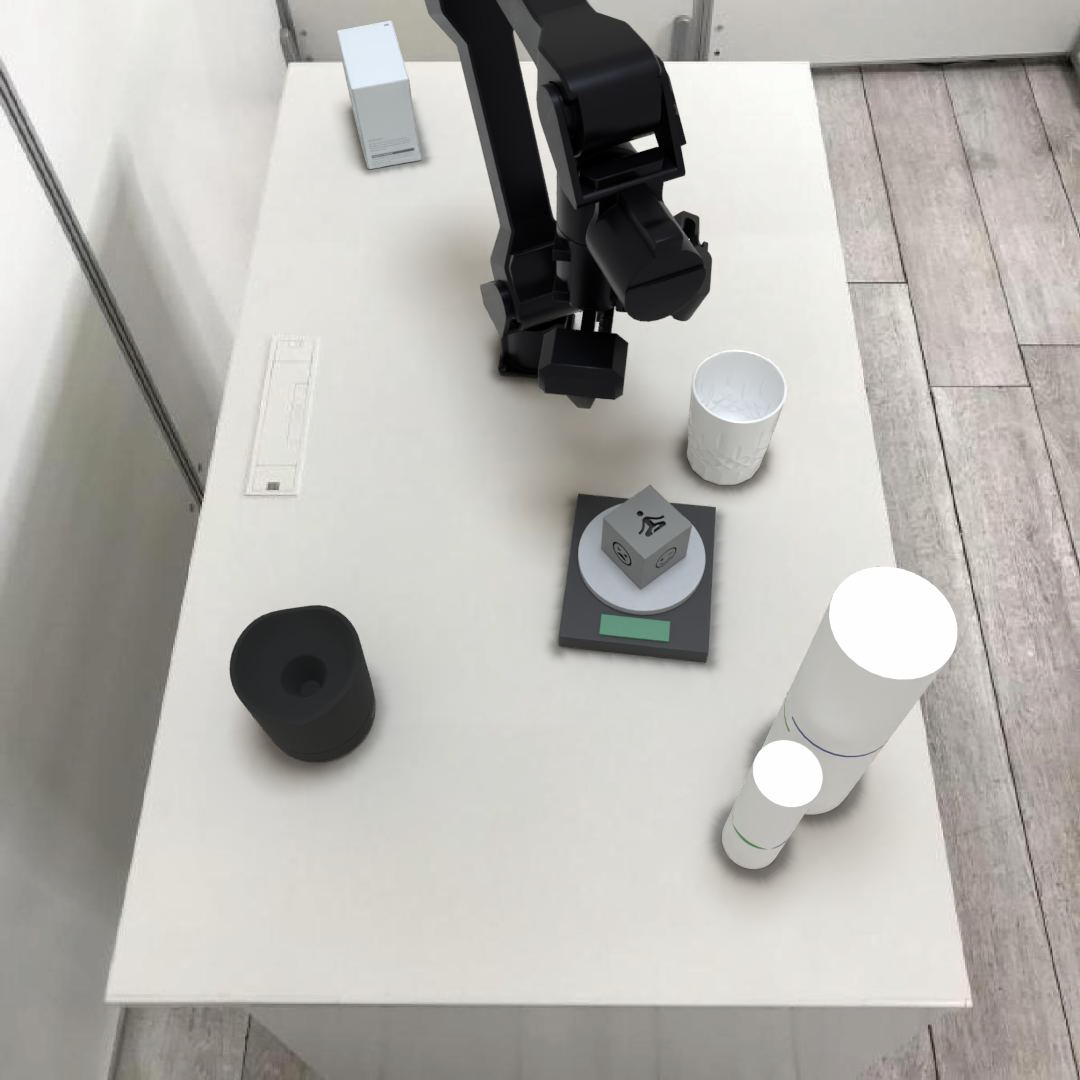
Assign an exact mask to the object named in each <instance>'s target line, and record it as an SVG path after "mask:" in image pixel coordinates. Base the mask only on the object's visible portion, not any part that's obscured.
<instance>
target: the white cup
mask: <svg viewBox="0 0 1080 1080" xmlns="http://www.w3.org/2000/svg"><path fill="white" fill-rule="evenodd" d="M691 379H692V380H691V387H690V388H691V389H690V398H689V406H688V407H689V410H688V418H687V421H688V422H687V449H686V458H687V459H688V463H689V465H690V467H691V469H692V470H693V471H694V472H695V473H696V474H697V475H698V476H699V477H700V478H702V480H704V481H707V482H710V483H713V484H716V485H718V486H734V485H735V486H737V485H738V484H741V483H743V482H746V481H747V480H749V479H751V478H752V477H753V476H754V475H755V473H756V472H757V471H758V470H759V468H760V467H761V464H762V461H763V459H764V456H765V454H766V453H767V450H768V448H769V446H770V442H771V440H772V438H773V436H774V432H775V431H776V427H777V425H778V422H779V419H780V417H781V413H782V411H783V408H784V405H785V403H786V400H787V396H788V383H787V380H786V377H785V375H784V374H783V372H782V370H781V369H780V368H779V367H778V366H777V364H775V363H774V362H773V361H772V360H771V359H769V358H768V357H766V356H764V355H762V354H760V353H757V352H754V351H750V350H746V349H726V350H721V351H718V352H715V353H713V354H710V355H709V356H707V357H706V358H704V359H703V360H702V361H701V362H700V363H699V364H697V366H696V368H695V369H694V372H693V375H692V378H691Z"/></svg>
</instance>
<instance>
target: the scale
mask: <svg viewBox="0 0 1080 1080" xmlns="http://www.w3.org/2000/svg"><path fill="white" fill-rule="evenodd" d="M576 497H577V498H576V504H575V512H574V513H575V514H574V521H573V528H572V536H571V542H570V543H571V544H570V551H569V559H568V565H567V574H566V580H565V587H564V594H563V595H564V596H563V603H562V611H561V619H560V626H559V633H558V646H559V647H565V648H574V649H582V650H592V651H600V652H601V651H602V652H609V653H620V654H628V655H636V656H646V657H654V658H664V659H673V660H682V661H683V660H684V661H691V662H701V663H706V662H707V659H708V655H709V650H710V649H709V648H710V647H709V646H710V629H711V627H710V625H711V610H712V609H711V606H712V589H713V570H714V569H713V568H714V550H715V549H714V547H715V546H714V545H715V529H716V512H717V511H716V510H717V507H716V506H711V505H698V504H689V503H678V502H671V501H670V502H669V501H668V502H669V503H670V504H671V505H672V506H673V507H674V508H675V509H676V510H677V511H678V512H679V513H680V514H681V515H683V516H684V517H685V518H686V519H687V520H688V521H689V522H690V523H691V524H692V529H691V534H690V539H689V544H688V549H687V553H686V557H685V558H683V559H682V560H681V561H679V562H678V563H677V564H675V565H674V566H673V567H671V568H670V569H669V570H667V571H666V572H664V573H663V574H662V575H660V576H659V577H658V578H656V579H655V580H654V581H652V582H651V583H650V584H648V585H647V586H646V587H644V588H643V589H642V590H640V589H639V588H638V587H637V586H636V585H635V584H634V583H633V582H632V581H631V580H630V579H629V578H628V576H627V575H626V574H625V573H624V572H623V571H622V570H621V569H620V568H619V567H618V566H617V565H616V564H615V563H614V562H613V561H612V560H611V559H610V558H609V557H608V556H607V555H606V554H605V553H604V552H603V551H602V550H601V543H602V527H603V517H604V516H606V515H607V514H609V513H610V512H611V511H613V510H614V509H616V508H617V507H619V506H620V505H621V504H623V503H624V502H626V501H627V500H629V499H630V498H629V497H619V496H618V497H617V496H607V495H598V494H587V493H577V496H576Z"/></svg>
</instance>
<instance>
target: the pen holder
mask: <svg viewBox="0 0 1080 1080" xmlns="http://www.w3.org/2000/svg"><path fill="white" fill-rule="evenodd" d="M362 646H363V645H362V642H361V640H360V636H359V634H358V631H357V629H356V627H355V626H354V624H353V623H352V622H351V620H350V619H348V617H347V616H346V615H344V614H343V613H342V612H341V611H339V610H337V609H335V608H334V607H330V606H327V605H321V604H315V605H303V606H296V607H290V608H284V609H278V610H273V611H269V612H267V613H264V614H262V615H260V616H258V617H257V618H255V619H254V620H253V621H251V622H250V623H249V624H248V625H246V627H245V628H244V629H243V630H242V632H241V633H240V635H239V636H238V637H237V640H236V641H235V644H234V646H233V649H232V651H231V654H230V659H229V669H228V670H229V678H230V683H231V686H232V689H233V691H234V693H235V695H236V696H237V698H238V700H239V701H240V703H242V705H243V706H244V707H245V709H246V710H247V712H249V714H250V715H251V716H252V717H253V719H254V720H255V721H256V723H257V724H258V725H259V726H260V728H261V729H262V730H263V732H265V734H266V735H267V736H268V737H269V739H270V740H271V741H272V742H273V743H274V744H275V746H276V747H277V748H278V749H279V750H281V752H283V753H284V754H286V755H287V756H289V757H291V758H294V759H295V760H298V761H301V762H307V763H324V762H329V761H332V760H335V759H339V758H340V757H343V756H345V755H347V754H348V753H349V752H351V751H353V749H355V748H356V747H357V746H359V744H360V743H362V741H363V740H364V739H365V738H366V736H367V734H368V733H369V731H370V730H371V727H372V725H373V722H374V719H375V715H376V695H375V691H374V687H373V682H372V679H371V675H370V672H369V667H368V664H367V661H366V657H365V653H364V649H363V647H362Z"/></svg>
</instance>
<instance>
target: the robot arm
mask: <svg viewBox="0 0 1080 1080" xmlns="http://www.w3.org/2000/svg"><path fill="white" fill-rule="evenodd" d="M424 3H425V7H426V11H427V14H428V16H429V17H430V19H432V20H433V22H434V23H435V24H436V25H437V26H438V27H439V28H440V29H441V30H442V32H444V34H445V35H446V36H447V37H448V39H450V40H451V41H452V42H453V43H454V45H455V47H456V49H457V53H458V56H459V61H460V64H461V70H462V73H463V77H464V81H465V85H466V90H467V93H468V97H469V98H468V99H469V102H470V106H471V110H472V114H473V118H474V123H475V126H476V131H477V136H478V140H479V143H480V148H481V152H482V156H483V161H484V164H485V168H486V174H487V176H488V181H489V185H490V190H491V193H492V197H493V202H494V205H495V211H496V215H497V218H498V222H499V223H498V224H499V228H498V231H497V235H496V238H495V242H494V245H493V247H492V250H491V254H490V259H489V262H490V267H491V272H492V273H491V274H492V277H493V280H491V281H488V282H485V283H484V282H483V283H482V284H480V285H479V289H480V294H481V299H482V304H483V307H484V308H485V310H486V312H487V314H488V316H489V318H490V320H491V321H492V323H493V326H494V327H495V329H496V331H497V333H498V334H499V342H500V343H499V344H500V355H499V361H498V365H497V373H498V374H499V375H500V376H508V377H519V378H530V379H531V378H532V379H537V386H538V388H539V389H540V390H541V391H542V392H543V393H544V394H546V395H547V394H549V395H559V396H566V397H567V398H568V399H569V400H570V401H571V402H572V403H573V405H574V406H575V407H576V408H578V409H586V410H589V409H591V408H592V407H593V405H594V403H595V401H596V399H598V400H609V401H615V400H618V399H619V398H620V397H622V396H623V395H624V388H625V379H626V371H627V361H628V352H629V342H628V341H627V340H626V339H624V338H623V337H622V336H621V335H619V334H618V333H616V332H613V324H614V316H615V312H617V313H626V314H627V315H628V316H629V317H630V318H632V319H633V320H635V321H639V322H644V323H645V322H647V323H650V322H656V321H659V320H663V319H666V318H667V317H672V319H674V320H676V321H679V322H687V321H689V320H690V319H691V318H692V317H693V315H694V314H695V313H696V311H697V309H699V307H700V305H701V304H702V303H703V301H704V300H705V299H706V297H707V296H708V294H709V293H710V292H711V285H712V284H711V282H712V269H713V268H712V267H713V257H712V255H711V253H710V252H709V242H707V241H705V240H704V241H703V242H702V243H701V242H700V233H701V232H700V229H701V228H700V227H701V225H700V216H699V215H697V214H693V213H691V212H689V211H686V210H682V211H680V212H678V213H676V214H674V215H673V214H672V212H671V211H670V210H669V208H668V206H667V205H666V203H665V201H664V199H663V197H664V196H663V193H664V183H666V182H669V181H673V180H675V179H679V178H682V177H685V176H686V165H685V160H684V155H683V150H682V149H683V148H682V147H683V146H685V145H687V144H688V143H687V140H686V135H685V132H684V128H683V124H682V120H681V115H680V112H679V108H678V104H677V101H676V97H675V93H674V89H673V84H672V80H671V77H670V74H669V72H668V71H667V69H666V66H665V63H664V61H663V60H662V58H661V57H659V56H658V54H656V53H655V51H654V50H653V49H652V47H651V46H650V45H649V44H648V43H647V42H646V40H644V38H643V37H642V36H641V35H640V34H639V33H638V32H637V31H636V30H635V29H634V28H633V27H632V26H631V24H629V23H628V22H627V21H625V20H622V19H619V18H617V17H613V16H611V15H607V14H604V13H601V12H599V11H596V9H595V8H594V7H593V6H592V5H591V4H590V2H589V1H588V0H424ZM515 34H516V35H517V37H518V39H519V40H520V42H521V43H522V45H523V47H524V49H525V50H526V52H527V53H528V55H529V57H530V58H531V60H532V62H533V64H534V66H535V68H536V71H537V75H536V76H537V77H536V96H535V97H536V98H535V101H536V109H537V114H538V119H539V123H540V126H541V129H542V131H543V135H544V138H545V141H546V143H547V144H546V145H547V147H548V150H549V152H550V153H549V154H551V159H552V161H553V165H554V167H555V170H556V219H555V217H554V214H553V209H552V206H551V201H550V195H549V192H548V186H547V182H546V178H545V177H546V176H545V174H544V169H543V164H542V160H541V155H540V150H539V145H538V140H537V137H536V132H535V127H534V123H533V118H532V114H531V113H532V112H531V108H530V104H529V99H528V95H527V90H526V85H525V82H524V76H523V72H522V67H521V63H520V58H519V53H518V49H517V44H516V40H515ZM652 135H654V137H655V141H656V144H657V146H654V147H650V148H647V149H645V150H641V151H637V150H636V149H635V147H634V146H633V144H632V143H631V142H632V141H636V140H639V139H643V138H645V137H649V136H652ZM577 313H582V315H581V321H580V328H579V329H576V314H577ZM597 323H598V326H597V330H596V325H597Z"/></svg>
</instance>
